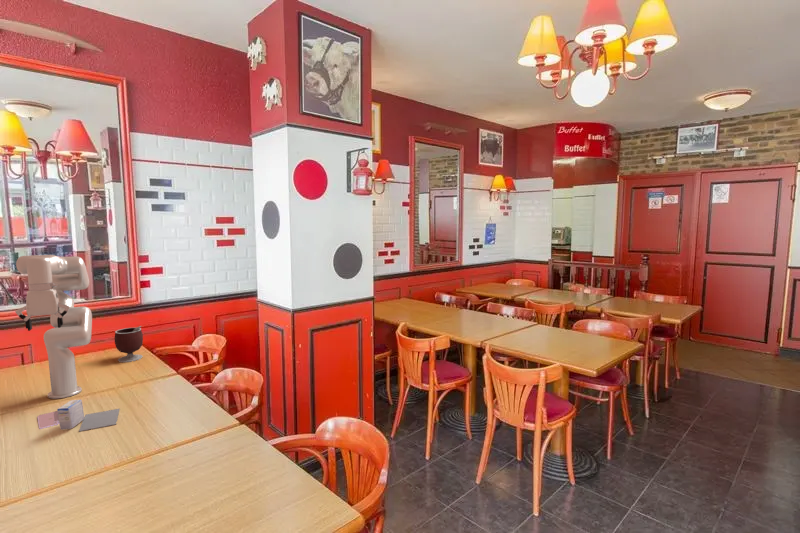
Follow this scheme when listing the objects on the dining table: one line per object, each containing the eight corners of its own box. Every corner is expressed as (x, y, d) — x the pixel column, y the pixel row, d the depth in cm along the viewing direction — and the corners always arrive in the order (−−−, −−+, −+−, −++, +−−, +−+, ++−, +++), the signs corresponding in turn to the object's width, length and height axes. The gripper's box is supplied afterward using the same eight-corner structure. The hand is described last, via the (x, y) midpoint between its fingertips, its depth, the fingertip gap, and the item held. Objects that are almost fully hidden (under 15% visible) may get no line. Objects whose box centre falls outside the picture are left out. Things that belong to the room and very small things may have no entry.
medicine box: (73, 420, 175) (70, 400, 174) (85, 419, 175) (81, 399, 174) (60, 430, 167) (56, 409, 166) (72, 429, 167) (68, 407, 166)
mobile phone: (60, 409, 184) (63, 421, 173) (60, 411, 184) (63, 424, 173) (36, 415, 178) (39, 428, 167) (37, 417, 179) (39, 430, 168)
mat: (85, 415, 179) (85, 414, 179) (119, 409, 185) (119, 408, 185) (78, 431, 165) (78, 431, 165) (116, 424, 171) (115, 424, 171)
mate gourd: (110, 362, 245) (107, 328, 243) (129, 354, 259) (126, 322, 257) (134, 363, 243) (131, 329, 241) (152, 355, 257) (149, 323, 254)
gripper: (69, 284, 182) (72, 324, 184) (16, 287, 174) (20, 329, 176) (65, 286, 176) (69, 327, 177) (10, 290, 167) (14, 333, 169)
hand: (45, 328), depth 177 cm, fingers open, 9 cm apart
